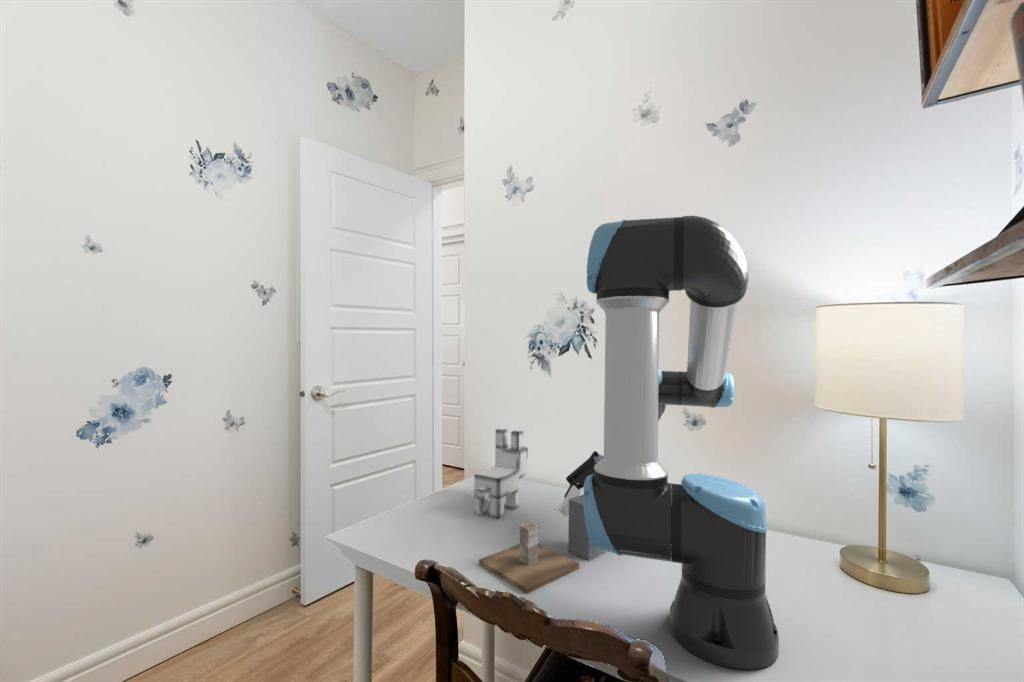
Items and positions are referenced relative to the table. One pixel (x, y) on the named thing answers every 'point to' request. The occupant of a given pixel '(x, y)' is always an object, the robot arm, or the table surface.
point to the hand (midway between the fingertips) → (585, 523)
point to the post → (528, 562)
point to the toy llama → (502, 475)
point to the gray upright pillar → (580, 531)
